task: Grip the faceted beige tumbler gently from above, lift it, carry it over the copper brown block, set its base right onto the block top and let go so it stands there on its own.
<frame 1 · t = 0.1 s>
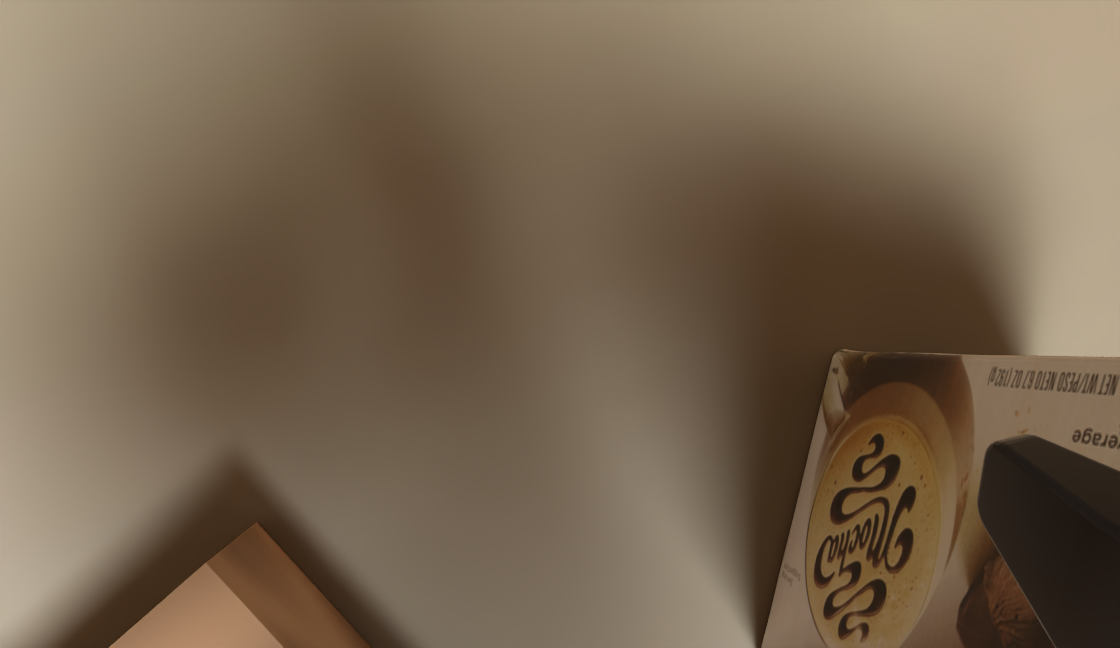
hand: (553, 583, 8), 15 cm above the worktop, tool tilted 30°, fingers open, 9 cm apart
coffee box: (894, 522, 24), on the worktop
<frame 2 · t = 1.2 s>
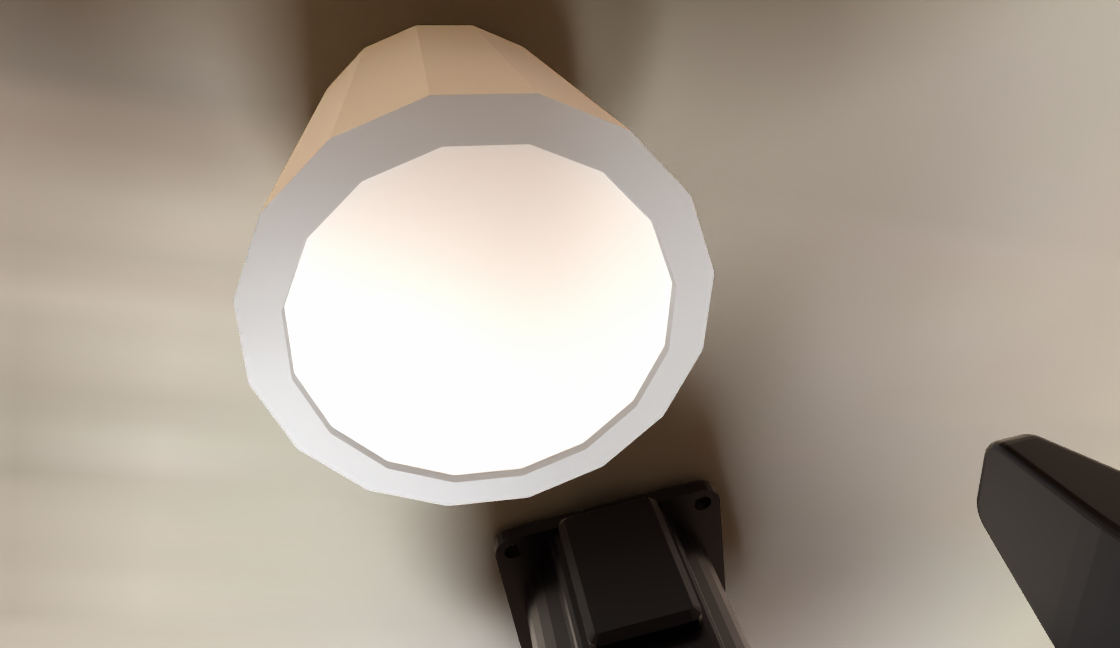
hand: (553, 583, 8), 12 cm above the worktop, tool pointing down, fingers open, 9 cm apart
faceted beige tumbler: (447, 157, 18), on the worktop
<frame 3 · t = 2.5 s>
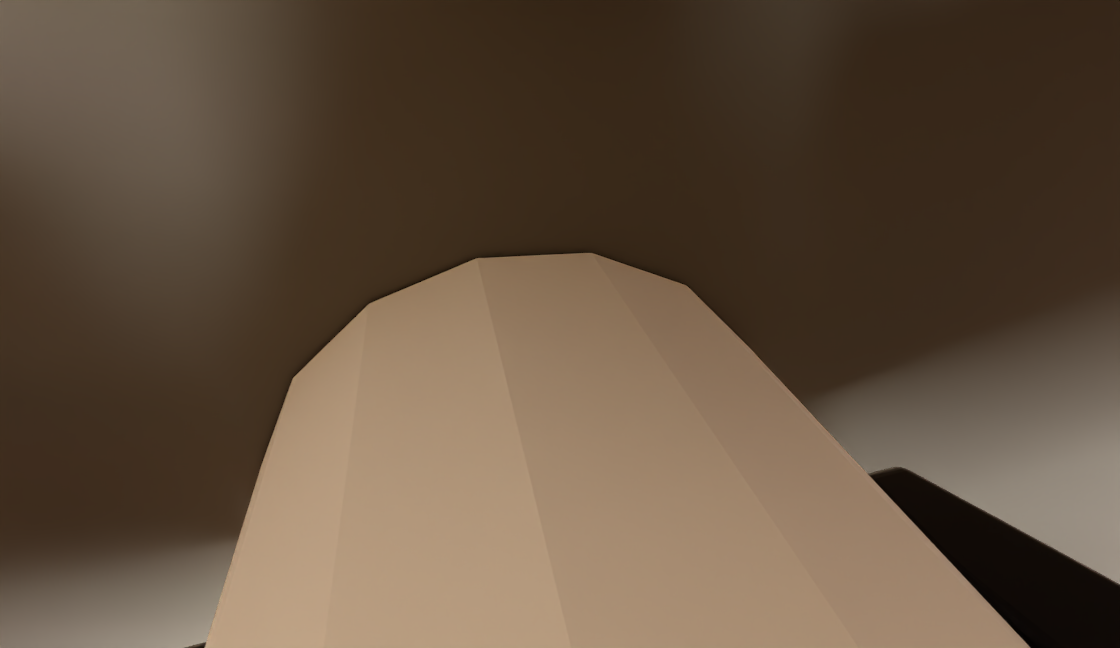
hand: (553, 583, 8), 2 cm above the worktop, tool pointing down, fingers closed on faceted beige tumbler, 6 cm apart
faceted beige tumbler: (525, 466, 10), on the worktop, touching gripper
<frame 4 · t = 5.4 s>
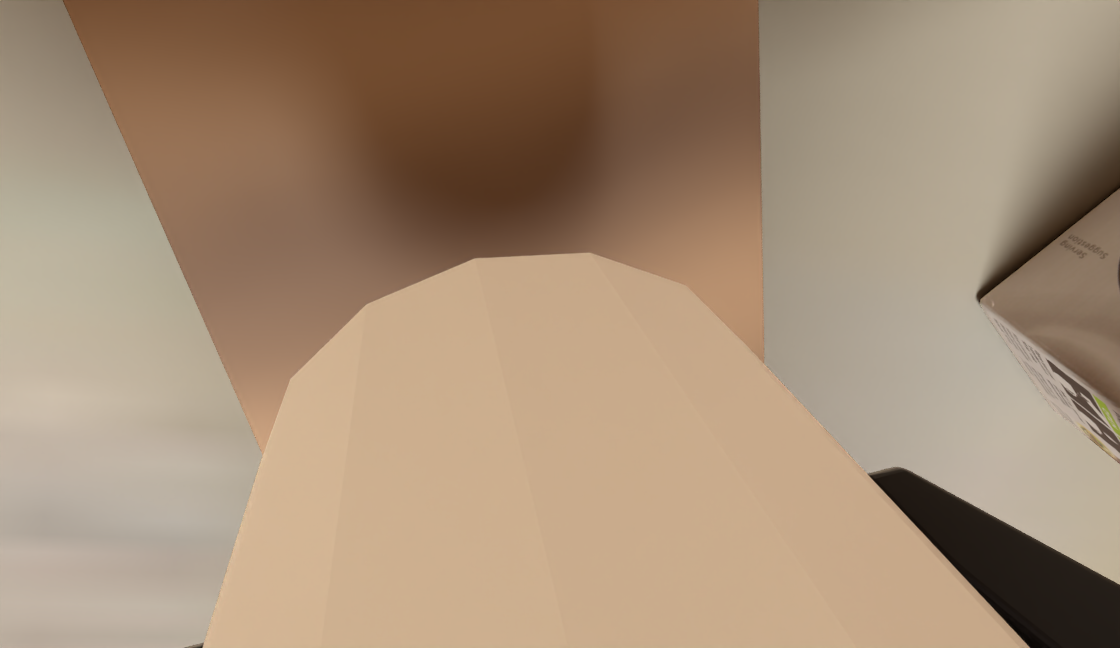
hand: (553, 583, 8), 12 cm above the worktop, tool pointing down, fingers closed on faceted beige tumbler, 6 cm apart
copper brown block: (462, 148, 18), on the worktop
faceted beige tumbler: (524, 466, 10), point 10 cm above the worktop, touching gripper
when the fingers open (6 cm above the worktop, at t = 8.3 s): faceted beige tumbler stays where it is, resting on copper brown block.
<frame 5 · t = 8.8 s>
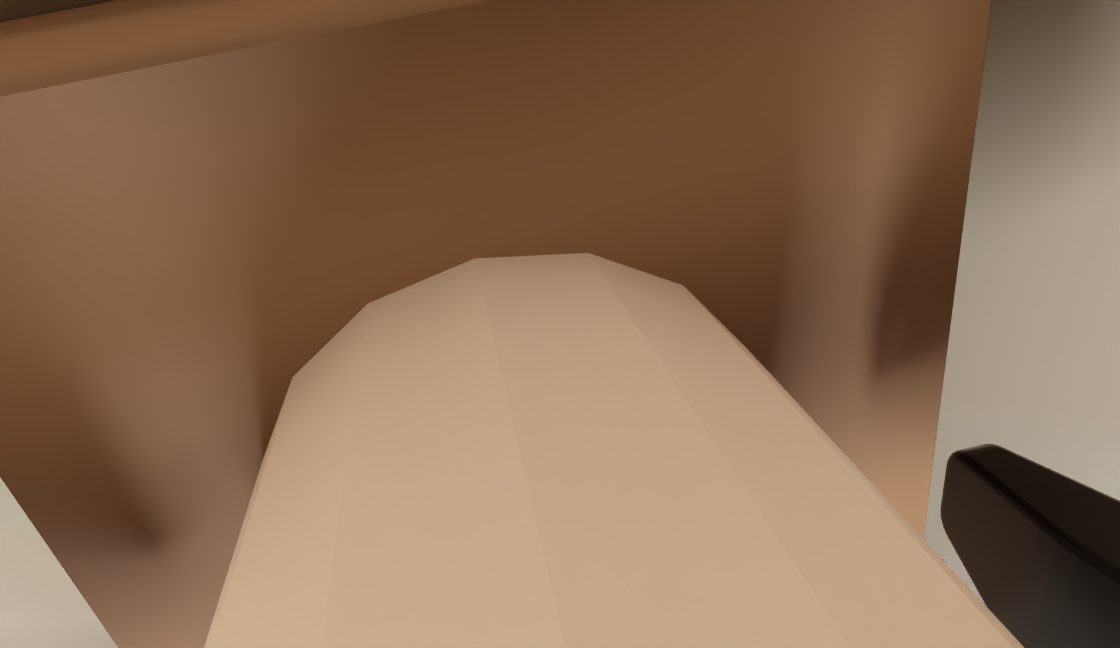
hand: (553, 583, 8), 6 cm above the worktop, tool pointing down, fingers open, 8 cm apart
copper brown block: (486, 298, 13), on the worktop
faceted beige tumbler: (523, 464, 10), point 4 cm above the worktop, touching copper brown block
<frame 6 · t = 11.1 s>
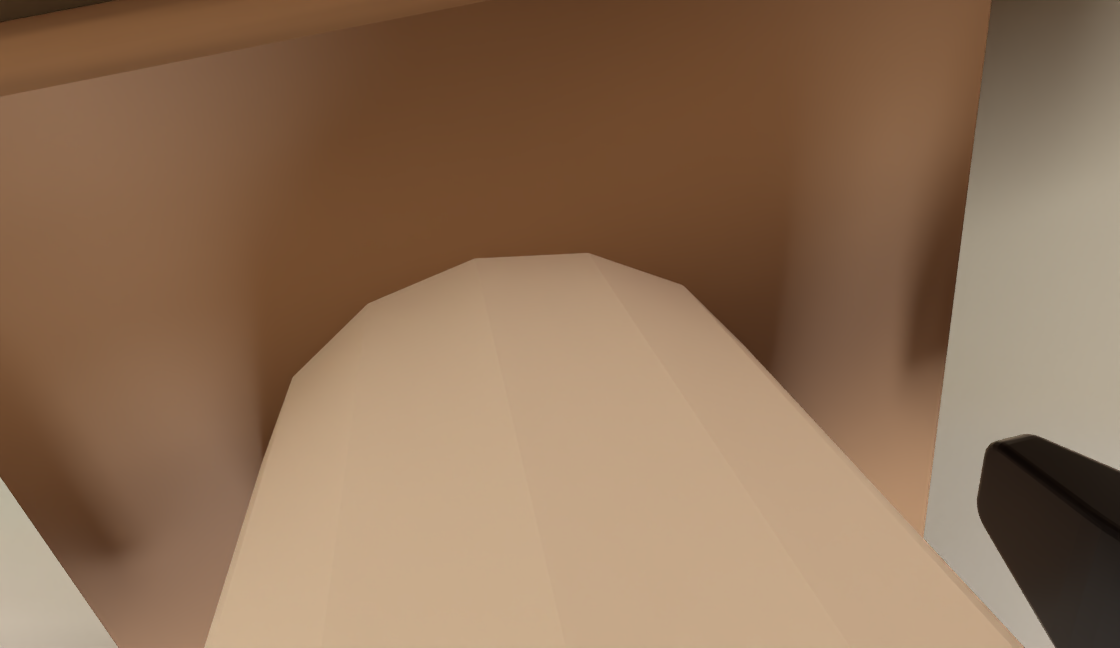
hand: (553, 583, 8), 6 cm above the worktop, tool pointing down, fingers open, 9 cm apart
copper brown block: (486, 298, 13), on the worktop
faceted beige tumbler: (523, 464, 10), point 4 cm above the worktop, touching copper brown block
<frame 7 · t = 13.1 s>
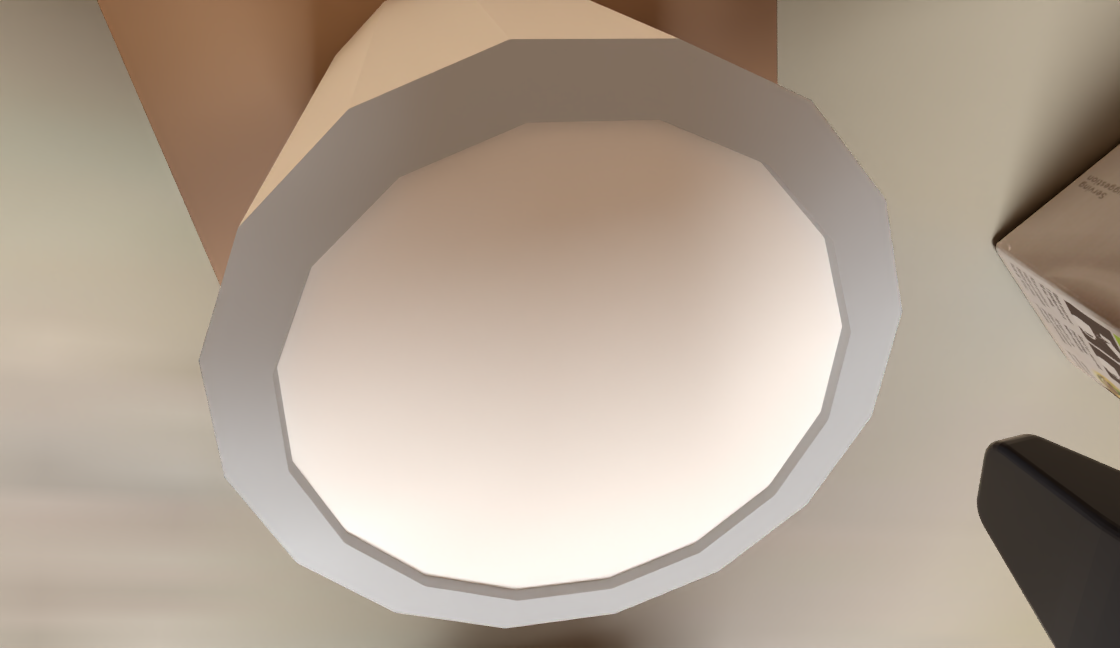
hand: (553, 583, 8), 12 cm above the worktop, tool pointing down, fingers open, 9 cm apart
copper brown block: (467, 79, 17), on the worktop
faceted beige tumbler: (488, 145, 14), point 4 cm above the worktop, touching copper brown block
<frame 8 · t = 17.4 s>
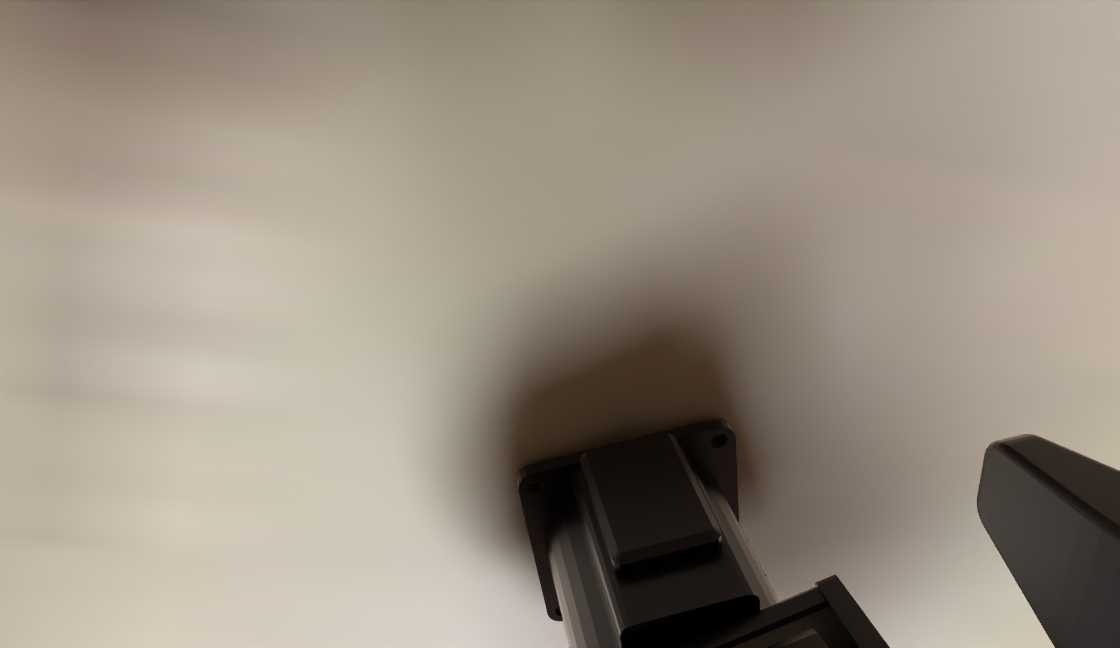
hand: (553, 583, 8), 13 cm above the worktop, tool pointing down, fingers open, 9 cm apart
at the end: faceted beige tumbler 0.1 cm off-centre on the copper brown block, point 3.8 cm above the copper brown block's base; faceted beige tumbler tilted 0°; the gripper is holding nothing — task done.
